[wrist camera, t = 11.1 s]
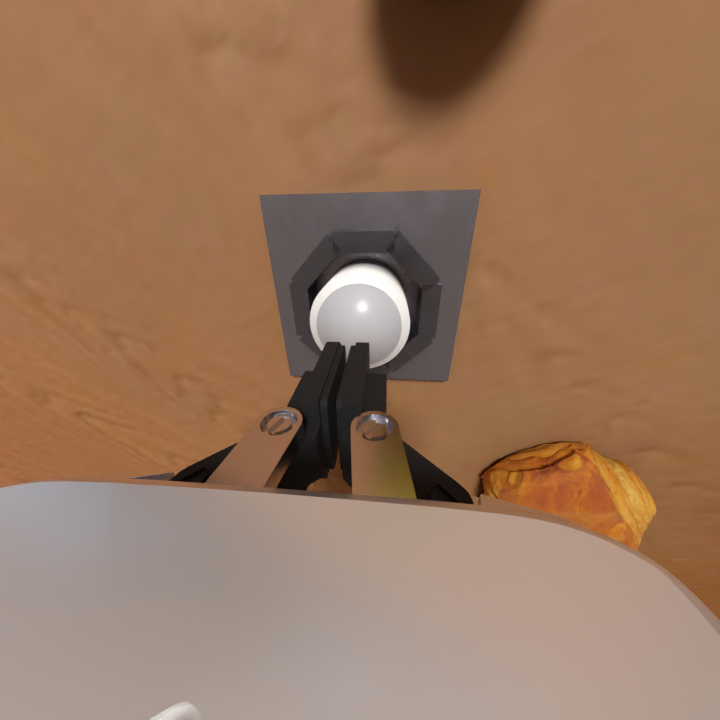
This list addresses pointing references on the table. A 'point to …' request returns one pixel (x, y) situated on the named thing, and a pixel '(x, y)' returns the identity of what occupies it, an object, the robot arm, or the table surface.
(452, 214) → the octagonal hole plate
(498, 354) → the table surface
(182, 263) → the table surface
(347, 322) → the cap
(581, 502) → the croissant
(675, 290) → the table surface
